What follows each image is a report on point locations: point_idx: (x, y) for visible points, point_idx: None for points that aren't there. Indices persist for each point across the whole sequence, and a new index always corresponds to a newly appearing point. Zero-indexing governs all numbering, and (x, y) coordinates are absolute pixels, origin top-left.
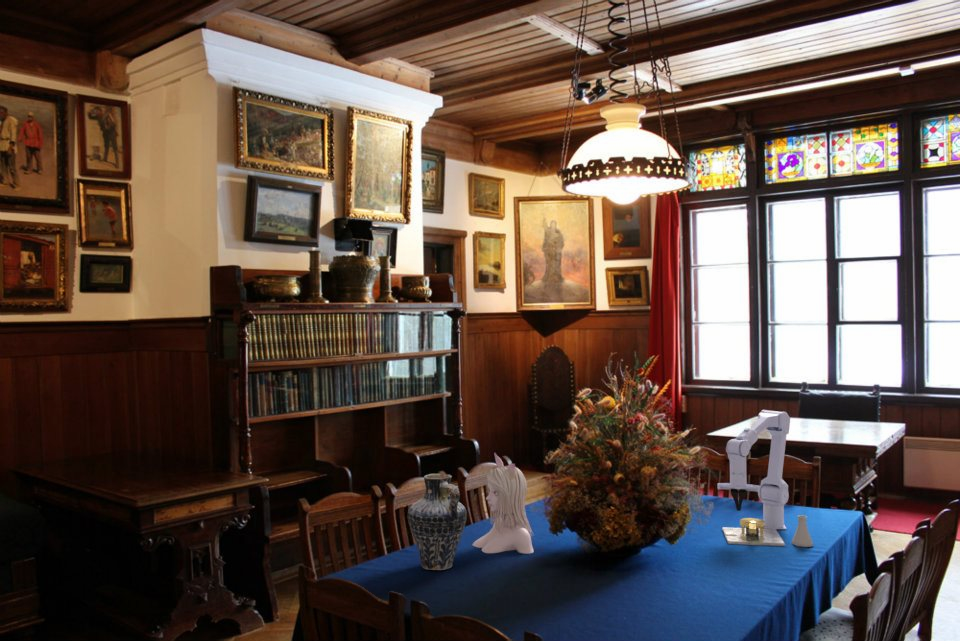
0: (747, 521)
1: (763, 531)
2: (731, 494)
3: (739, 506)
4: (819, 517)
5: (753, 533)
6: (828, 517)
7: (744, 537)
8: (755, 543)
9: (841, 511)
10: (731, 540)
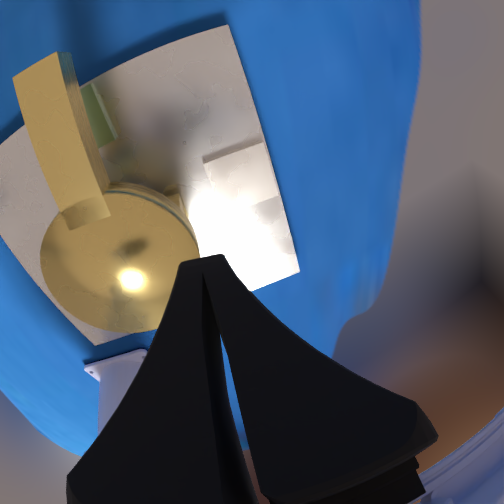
0: (138, 248)
1: None
2: (404, 398)
3: (190, 287)
4: None
5: None
6: (86, 440)
7: (149, 150)
8: None
9: None
10: (209, 46)
